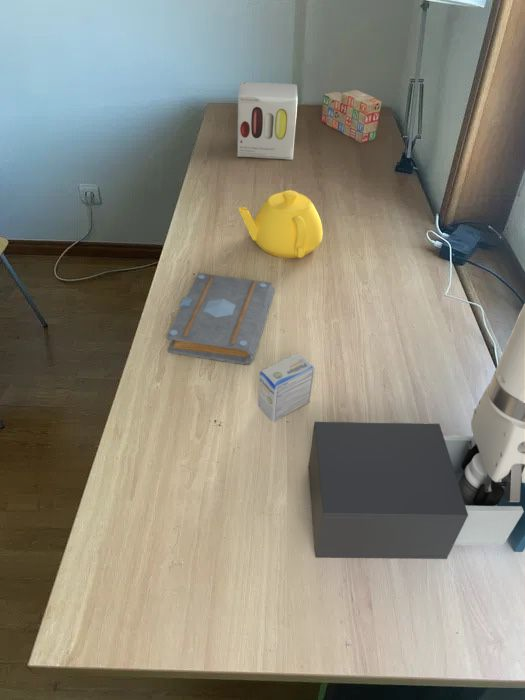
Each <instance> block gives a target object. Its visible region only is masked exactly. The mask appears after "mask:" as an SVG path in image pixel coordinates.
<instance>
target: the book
mask: <svg viewBox="0 0 525 700" xmlns="http://www.w3.org/2000/svg"><path fill="white" fill-rule="evenodd" d="M275 290H276V288H275V287H274V285H273V284H272V283H271V282H267V281H261V280H252V279H245V278H239V277H233V276H224V275H218V274H210V273H209V274H208V273H203V272H202V273H201V272H198V273H197V275H196V277H195V279H194V281H193V283H192V285H191V287H190V289H189V291H188V293H187V295H186V296H185V297H182V299H181V301H180V303H179V310H178V313H177V315H176V316H175V318H174V321H173V323H172V324H171V327H170V328H169V330H168V332H167V334H166V336H165V339H167V340H171V342H170V344H169V346H168V348H167V353H169V354H170V353H171V354H175V355H181V356H189V357H196V358H201V359H208V360H214V361H220V362H227V363H232V364H239V365H246V366H250V365H251V363H252V362H253V361H254V360H255V357H256V354H257V350H258V346H259V344H260V340H261V338H262V334H263V332H264V328H265V324H266V322H267V318H268V315H269V311H270V309H271V306H272V302H273V299H274V296H275Z"/></svg>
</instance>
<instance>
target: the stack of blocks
mask: <svg viewBox="0 0 525 700" xmlns="http://www.w3.org/2000/svg"><path fill="white" fill-rule="evenodd" d="M322 97H323V98H322V108H321V109H322V110H321V120H320V122H321V123H323V124H324V125H327V126H329V127H330V128H332V129H334V130H336V131H338V132H340V133H341V134H344V135H345V136H347V137H349V138H350V139H353V140H355V141H356V142H358V143H360V144H364V143H367V142H371V141H375V140H376V136H377V130H378V125H379V120H380V114H381V108H382V102H383V101H382V100H380V99H377V98H376V97H374V96H372V95H370V94H367V93H364V92H362V91H360V90H357V89H353V90H349V91H344V92H342V93H341V92H339V91H334V92H329V93H324V94H323V96H322Z"/></svg>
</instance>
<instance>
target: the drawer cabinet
mask: <svg viewBox="0 0 525 700" xmlns="http://www.w3.org/2000/svg"><path fill="white" fill-rule="evenodd" d="M443 436H444V433H443V431H442V428H441V424H440V423H433V422H432V423H429V422H428V423H427V422H425V423H424V422H368V421H367V422H366V421H365V422H364V421H363V422H362V421H360V422H359V421H314V423H313V430H312V437H311V444H310V452H309V459H308V466H307V469H308V470H307V471H308V482H309V495H310V505H311V506H310V509H311V519H312V520H311V521H312V531H313V544H314V545H313V547H314V557H315V558H316V559H317V558H319V559H320V558H321V559H323V558H325V559H407V560H408V559H409V560H410V559H414V560H415V559H419V560H420V559H421V560H424V559H425V560H428V559H429V560H432V559H433V560H437V559H438V560H447V559H448V557H449V555H450V553H451V551H452V549H453V547H454V546H455V545H454V543H455V541H456V539H457V537H458V535H459V533H460V531H461V529H462V527H463V525H464V523H465V521H466V519H467V517H468V513H467V510H466V507H465V503H464V500H463V497H462V494H461V491H460V488H459V484H458V481H457V478H456V475H455V472H454V468H453V465H452V462H451V459H450V456H449V453H448V449H447V446H446V443H445V440H444V437H443Z"/></svg>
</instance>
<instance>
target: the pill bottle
mask: <svg viewBox="0 0 525 700" xmlns="http://www.w3.org/2000/svg"><path fill="white" fill-rule="evenodd" d="M486 477H487V471H486V468H485V466H484V463H483V460H482V458H481V455H480V453H477V454H476V455H475V456H474V457H473V459H472V461H471V462H470V463H469V464H468V465H467V466H466V468H465V470H464V472H463V475H462V477H461V479H460V481H459V483H458V484H459V488H460V491H461V494H462V497H463V500H464V503H465V506H484V505H474V503H473V499H474V497H475V495H476V493H477V491H478V489H479V487H480V485H481V484H485V481H486ZM498 482H501V478H500V479H499V480H498Z"/></svg>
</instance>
